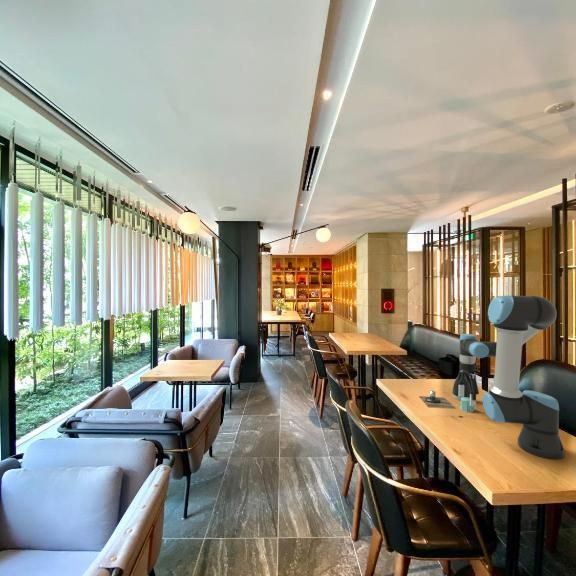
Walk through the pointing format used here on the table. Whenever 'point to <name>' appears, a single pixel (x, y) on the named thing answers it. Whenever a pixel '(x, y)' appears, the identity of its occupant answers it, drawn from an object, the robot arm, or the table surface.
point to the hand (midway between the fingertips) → (466, 401)
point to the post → (432, 398)
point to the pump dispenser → (456, 390)
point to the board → (442, 404)
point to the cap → (466, 405)
